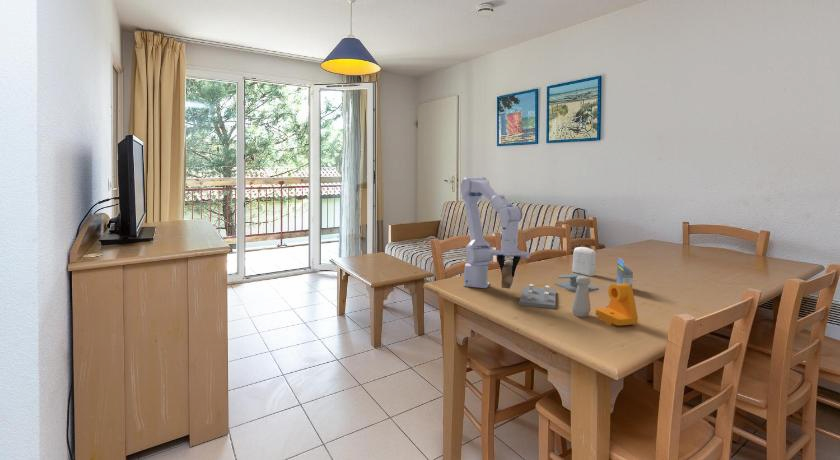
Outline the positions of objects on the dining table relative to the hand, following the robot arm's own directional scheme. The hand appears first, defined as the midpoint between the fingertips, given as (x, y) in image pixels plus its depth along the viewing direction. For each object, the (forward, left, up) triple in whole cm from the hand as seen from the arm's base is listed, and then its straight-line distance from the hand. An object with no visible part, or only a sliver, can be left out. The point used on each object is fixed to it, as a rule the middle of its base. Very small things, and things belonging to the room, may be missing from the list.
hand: (507, 275), depth 154 cm
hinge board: (+11, +3, -8) cm, 14 cm away
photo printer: (+29, +49, -9) cm, 58 cm away
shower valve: (+24, +24, -9) cm, 35 cm away
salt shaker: (+25, -11, -9) cm, 29 cm away
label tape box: (+43, +27, -9) cm, 52 cm away
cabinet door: (0, 0, -3) cm, 3 cm away
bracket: (+35, -13, -9) cm, 38 cm away
